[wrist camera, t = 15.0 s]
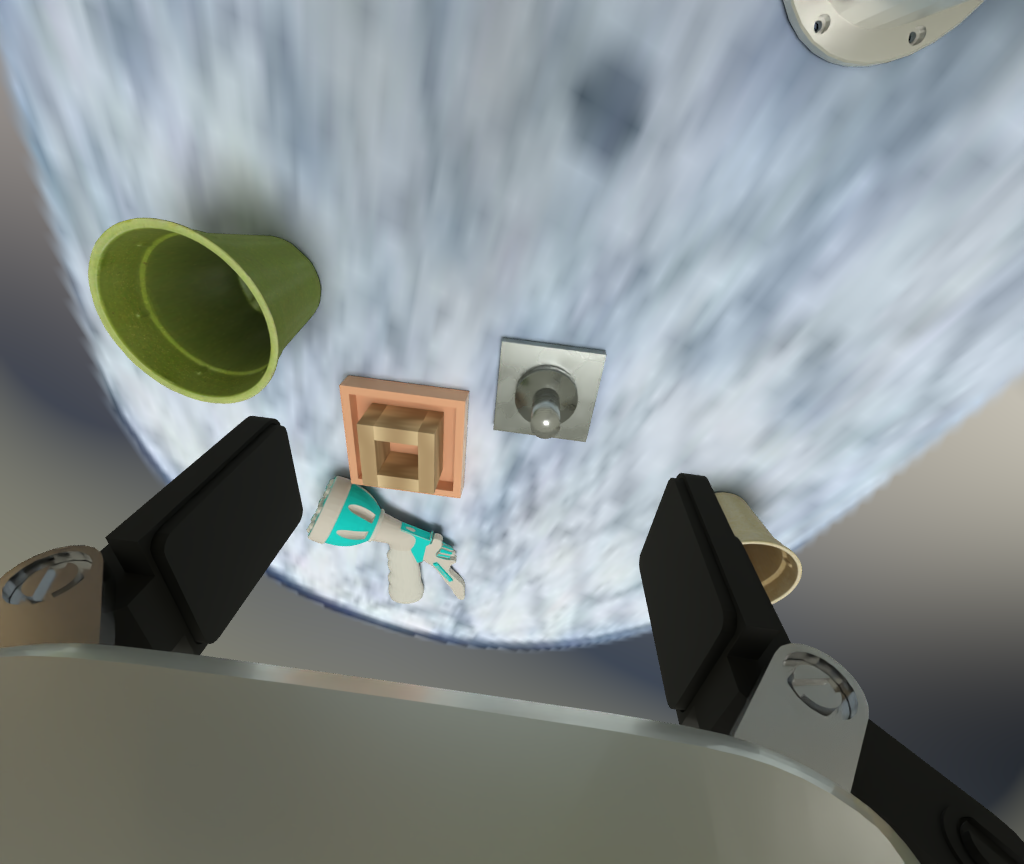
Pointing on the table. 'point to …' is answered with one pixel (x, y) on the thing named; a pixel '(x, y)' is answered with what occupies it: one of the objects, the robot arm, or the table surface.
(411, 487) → the wooden ring
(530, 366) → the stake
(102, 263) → the plant pot
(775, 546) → the flower pot
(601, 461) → the table surface
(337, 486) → the garden hose nozzle
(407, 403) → the terracotta tray
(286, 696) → the robot arm
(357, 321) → the table surface
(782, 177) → the table surface
